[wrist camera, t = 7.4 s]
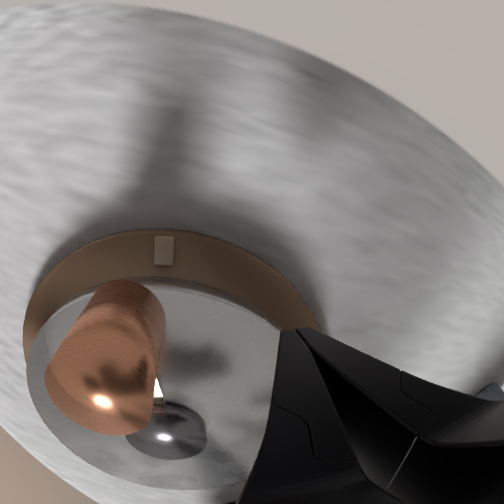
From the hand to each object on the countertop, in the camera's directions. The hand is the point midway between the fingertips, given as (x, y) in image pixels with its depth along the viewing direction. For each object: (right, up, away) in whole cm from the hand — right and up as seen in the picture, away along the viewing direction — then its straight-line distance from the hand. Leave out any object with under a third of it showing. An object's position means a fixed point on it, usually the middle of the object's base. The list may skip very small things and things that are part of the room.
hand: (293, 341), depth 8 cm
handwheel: (-6, -5, +6) cm, 10 cm away
